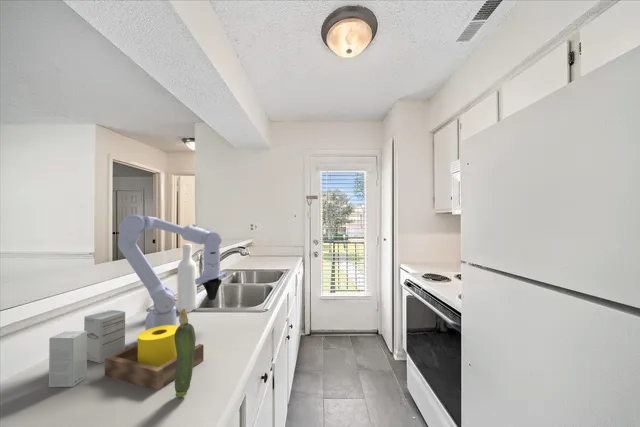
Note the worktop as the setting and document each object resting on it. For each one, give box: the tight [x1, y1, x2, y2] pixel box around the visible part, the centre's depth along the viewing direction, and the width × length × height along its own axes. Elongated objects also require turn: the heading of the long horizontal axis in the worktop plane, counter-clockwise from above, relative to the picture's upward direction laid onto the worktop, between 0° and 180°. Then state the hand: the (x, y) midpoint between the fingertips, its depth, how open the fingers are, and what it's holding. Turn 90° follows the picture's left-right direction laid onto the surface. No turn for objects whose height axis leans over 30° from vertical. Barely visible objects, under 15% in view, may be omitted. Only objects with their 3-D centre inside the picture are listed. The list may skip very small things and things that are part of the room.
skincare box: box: [48, 330, 88, 388], centre depth 68 cm, size 6×4×12 cm
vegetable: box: [174, 309, 196, 399], centre depth 62 cm, size 4×4×20 cm
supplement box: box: [83, 309, 126, 364], centre depth 81 cm, size 7×7×13 cm
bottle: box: [176, 243, 198, 314], centre depth 122 cm, size 8×8×30 cm
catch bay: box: [104, 343, 205, 391], centre depth 74 cm, size 19×14×4 cm
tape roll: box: [137, 325, 179, 367], centre depth 75 cm, size 10×10×9 cm
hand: (212, 299), depth 102 cm, fingers closed
